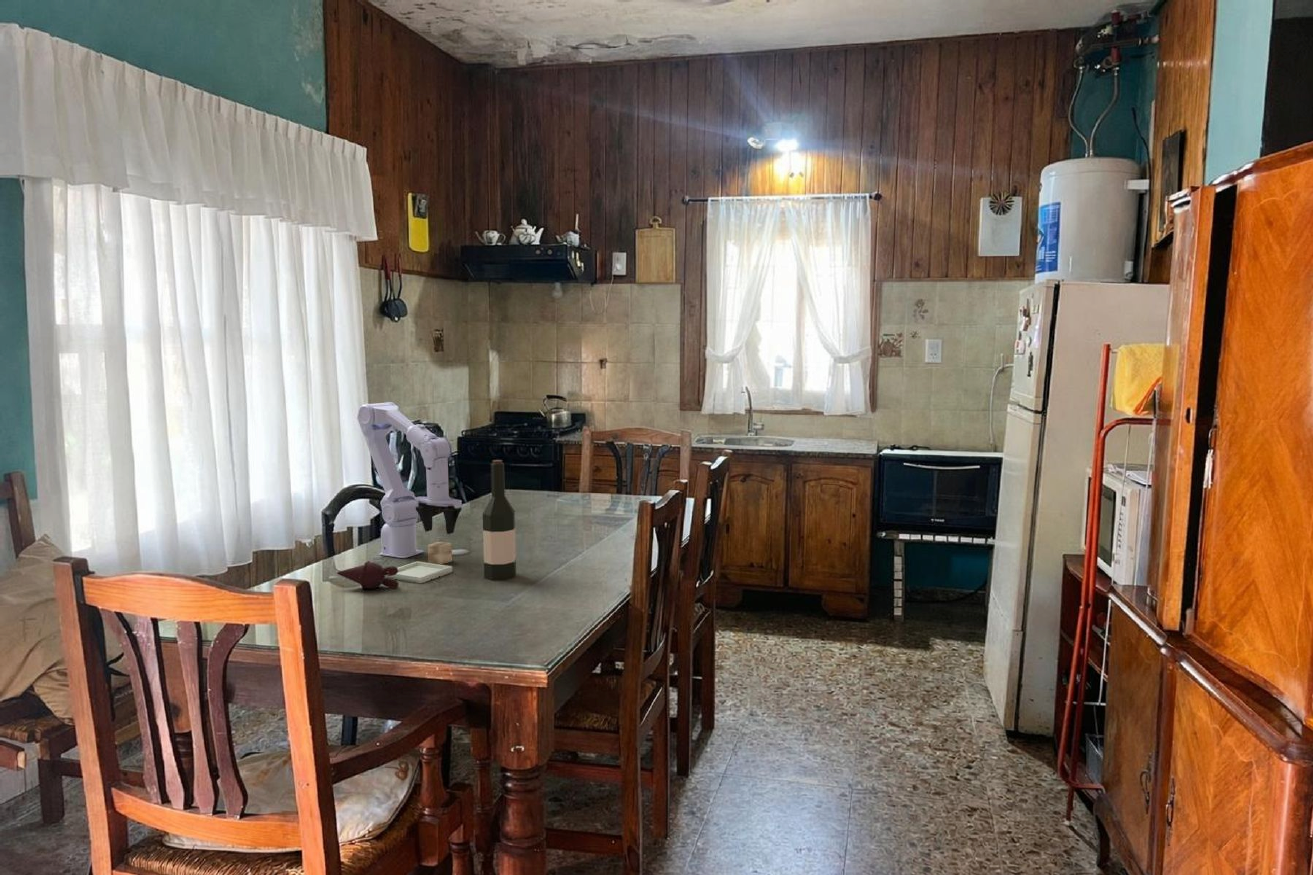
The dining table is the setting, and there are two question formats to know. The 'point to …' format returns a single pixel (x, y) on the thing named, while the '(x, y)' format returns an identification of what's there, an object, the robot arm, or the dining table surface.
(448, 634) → the dining table surface
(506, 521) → the wine bottle
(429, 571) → the tray
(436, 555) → the block
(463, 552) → the pad
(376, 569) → the icecream
